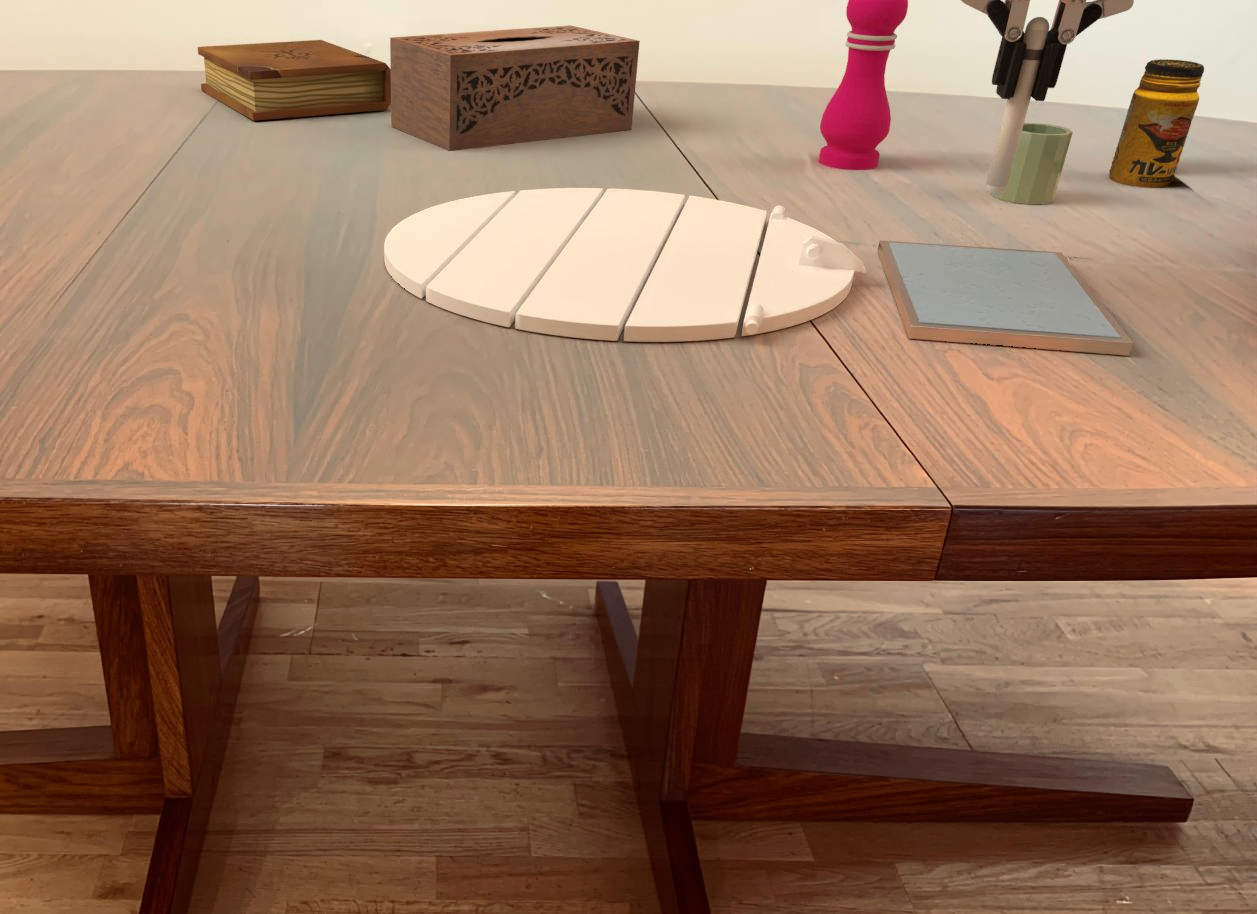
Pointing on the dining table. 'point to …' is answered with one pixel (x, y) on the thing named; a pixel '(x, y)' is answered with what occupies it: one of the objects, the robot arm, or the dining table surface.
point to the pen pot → (1037, 164)
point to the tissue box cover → (512, 85)
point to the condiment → (1157, 124)
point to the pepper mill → (862, 87)
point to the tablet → (998, 298)
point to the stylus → (1017, 108)
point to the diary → (295, 79)
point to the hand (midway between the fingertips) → (1019, 95)
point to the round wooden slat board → (618, 264)
